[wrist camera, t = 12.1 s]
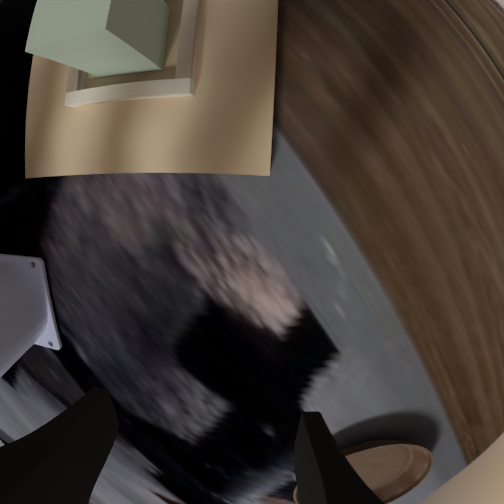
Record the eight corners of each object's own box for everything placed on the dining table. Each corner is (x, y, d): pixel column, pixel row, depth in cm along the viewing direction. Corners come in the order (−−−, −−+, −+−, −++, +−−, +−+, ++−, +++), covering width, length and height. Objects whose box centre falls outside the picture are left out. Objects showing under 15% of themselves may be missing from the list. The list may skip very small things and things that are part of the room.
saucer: (263, 473, 27) (262, 493, 24) (390, 403, 23) (399, 424, 20) (340, 507, 29) (342, 523, 27) (442, 452, 26) (449, 468, 23)
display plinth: (38, 175, 18) (16, 180, 16) (63, -21, 13) (47, -32, 11) (269, 174, 18) (270, 177, 15) (279, -53, 13) (280, -73, 10)
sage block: (100, 77, 15) (24, 51, 8) (108, 19, 14) (45, -25, 7) (163, 70, 15) (105, 28, 8) (170, 9, 13) (124, -51, 7)
